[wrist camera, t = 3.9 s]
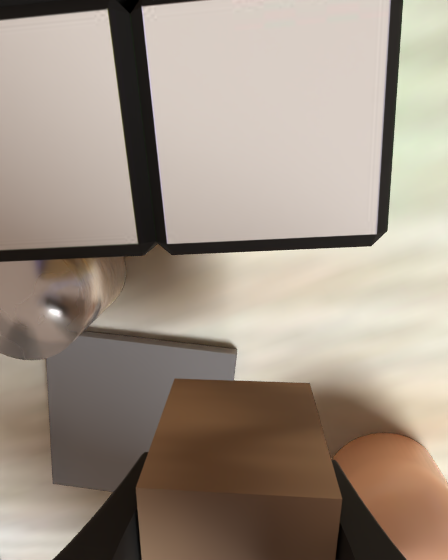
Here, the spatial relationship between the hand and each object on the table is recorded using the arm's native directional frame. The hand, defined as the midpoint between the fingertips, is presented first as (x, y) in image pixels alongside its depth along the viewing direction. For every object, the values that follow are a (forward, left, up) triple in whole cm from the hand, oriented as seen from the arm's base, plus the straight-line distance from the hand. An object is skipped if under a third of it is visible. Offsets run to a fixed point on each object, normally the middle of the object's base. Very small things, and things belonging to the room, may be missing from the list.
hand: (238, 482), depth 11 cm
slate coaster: (+5, +5, -9) cm, 11 cm away
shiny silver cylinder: (+9, -4, -9) cm, 13 cm away
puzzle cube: (+3, -12, -9) cm, 15 cm away
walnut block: (0, 0, -2) cm, 2 cm away
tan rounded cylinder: (-9, +7, -9) cm, 14 cm away
